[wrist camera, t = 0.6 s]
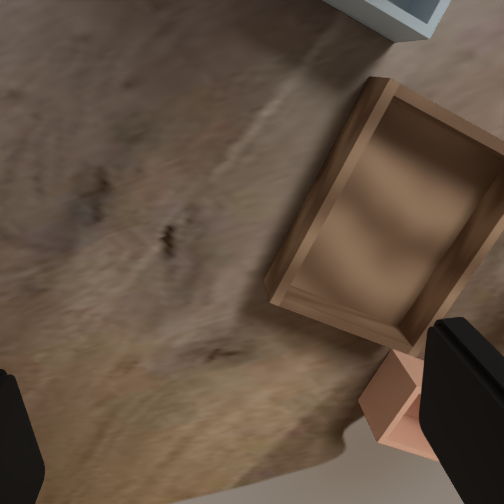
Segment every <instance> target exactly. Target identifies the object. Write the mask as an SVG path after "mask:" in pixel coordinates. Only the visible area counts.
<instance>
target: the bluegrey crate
mask: <svg viewBox="0 0 504 504" xmlns="http://www.w3.org/2000/svg"><path fill="white" fill-rule="evenodd" d="M322 1H323V2H325V3H327V4H329V5H330V6H332V7H334V8H336V9H337V10H339V11H341V12H342V13H344V14H346V15H348V16H349V17H351V18H353V19H355V20H356V21H358V22H360V23H361V24H363V25H365V26H367V27H368V28H370V29H372V30H374V31H375V32H377V33H379V34H380V35H382V36H384V37H386V38H387V39H389V40H391V41H393V42H394V43H397V42H406V41H416V40H426V39H430V38H431V36H432V34H433V32H434V30H435V29H436V27H437V25H438V23H439V21H440V19H441V18H442V16H443V14H444V12H445V10H446V9H447V7H448V5H449V3H450V1H451V0H322Z"/></svg>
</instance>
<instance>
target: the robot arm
mask: <svg viewBox="0 0 504 504" xmlns="http://www.w3.org/2000/svg"><path fill="white" fill-rule="evenodd" d="M419 424H420V427H421V430H422V432H423V434H424V436H425V438H426V439H427V441H428V443H429V444H430V446H431V448H432V450H433V451H434V453H435V455H436V456H437V458H438V460H439V461H440V463H441V465H442V466H443V468H444V470H445V472H446V473H447V475H448V477H449V478H450V480H451V482H452V484H453V485H454V487H455V489H456V490H457V492H458V494H459V496H460V497H461V499H462V501H463V502H464V504H504V357H503V356H502V355H501V354H500V353H499V352H498V351H497V350H496V349H495V348H494V347H493V346H492V345H491V344H490V343H489V342H488V341H487V340H486V339H485V338H484V337H483V336H482V335H481V334H480V333H479V332H478V331H477V330H476V329H475V328H474V327H473V326H472V325H471V324H470V323H469V322H468V321H467V320H466V319H465V318H463V317H455V318H446V319H438V320H436V321H435V323H434V326H431V327H429V328H428V330H427V338H426V348H425V357H424V367H423V377H422V387H421V397H420V407H419ZM44 475H45V466H44V462H43V459H42V456H41V453H40V450H39V447H38V444H37V441H36V438H35V435H34V432H33V429H32V426H31V423H30V420H29V417H28V414H27V411H26V408H25V405H24V402H23V399H22V396H21V393H20V390H19V387H18V384H17V381H16V379H15V377H14V376H13V375H11V374H10V375H7V373H6V371H5V370H3V369H0V504H35V502H36V499H37V497H38V494H39V491H40V489H41V486H42V484H43V480H44Z"/></svg>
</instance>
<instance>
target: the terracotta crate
mask: <svg viewBox="0 0 504 504" xmlns="http://www.w3.org/2000/svg"><path fill="white" fill-rule="evenodd" d="M423 367H424V360H421V359H418V358H415V357H413V356H410V355H407V354H405V353H402V352H399V351H397V350H394V349H391V350H390V352H389V353H388V355H387V357H386V358H385V360H384V361H383V363H382V364H381V366H380V367H379V369H378V370H377V372H376V373H375V375H374V376H373V378H372V379H371V381H370V382H369V384H368V385H367V387H366V388H365V390H364V391H363V393H362V394H361V396H360V397H359V399H358V402H359V404H360V406H361V408H362V411H363V413H364V415H365V417H366V419H367V421H368V424H369V426H370V428H371V430H372V432H373V434H374V436H375V439H376V441H377V443H380V444H384V445H387V446H390V447H393V448H396V449H400V450H403V451H407V452H410V453H413V454H416V455H419V456H422V457H426V458H429V459H432V460H435V461H439V460H438V458H437V456H436V455H435V453H434V451H433V450H432V448H431V446H430V444H429V443H428V441H427V439H426V438H425V436H424V434H423V432H422V430H421V427H420V424H419V407H420V397H421V387H422V377H423ZM439 462H440V461H439Z"/></svg>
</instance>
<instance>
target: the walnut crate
mask: <svg viewBox="0 0 504 504" xmlns="http://www.w3.org/2000/svg"><path fill="white" fill-rule="evenodd" d="M503 230H504V141H503V140H501V139H499V138H497V137H495V136H493V135H492V134H490V133H488V132H486V131H484V130H483V129H481V128H479V127H477V126H475V125H474V124H472V123H470V122H468V121H466V120H465V119H463V118H461V117H459V116H457V115H456V114H454V113H452V112H450V111H448V110H447V109H445V108H443V107H441V106H439V105H438V104H436V103H434V102H432V101H430V100H428V99H427V98H425V97H423V96H421V95H419V94H418V93H416V92H414V91H412V90H410V89H409V88H407V87H405V86H403V85H401V84H400V83H398V82H396V81H394V80H392V79H391V78H381V77H369V78H368V80H367V82H366V84H365V86H364V88H363V90H362V92H361V94H360V96H359V98H358V100H357V101H356V103H355V105H354V107H353V109H352V111H351V113H350V115H349V117H348V119H347V121H346V123H345V124H344V126H343V128H342V130H341V132H340V134H339V136H338V138H337V140H336V142H335V144H334V146H333V147H332V149H331V151H330V153H329V155H328V157H327V159H326V161H325V163H324V165H323V167H322V169H321V170H320V172H319V174H318V176H317V178H316V180H315V182H314V184H313V186H312V188H311V190H310V192H309V193H308V195H307V197H306V199H305V201H304V203H303V205H302V207H301V209H300V211H299V213H298V214H297V216H296V218H295V220H294V222H293V224H292V226H291V228H290V230H289V232H288V234H287V236H286V237H285V239H284V241H283V243H282V245H281V247H280V249H279V251H278V253H277V255H276V257H275V259H274V260H273V262H272V264H271V266H270V268H269V270H268V272H267V274H266V276H265V278H264V280H263V281H264V285H265V288H266V292H267V295H268V299H269V302H270V303H271V304H274V305H277V306H279V307H282V308H285V309H287V310H290V311H293V312H295V313H298V314H301V315H303V316H306V317H309V318H311V319H314V320H317V321H319V322H322V323H325V324H327V325H330V326H333V327H335V328H338V329H341V330H343V331H346V332H349V333H351V334H354V335H357V336H359V337H362V338H365V339H367V340H370V341H373V342H375V343H378V344H381V345H383V346H386V347H389V348H391V349H394V350H397V351H399V352H402V353H405V354H407V355H410V356H413V357H415V358H416V356H417V355H418V354H419V352H420V351H421V349H422V348H423V346H424V345H425V343H426V338H427V330H428V328H429V327H431V326H434V323H435V321H436V320H438V319H443V317H444V316H445V314H446V313H447V311H448V310H449V308H450V307H451V306H452V304H453V303H454V301H455V300H456V298H457V297H458V295H459V294H460V292H461V291H462V290H463V288H464V287H465V285H466V284H467V282H468V281H469V279H470V278H471V276H472V275H473V274H474V272H475V271H476V269H477V268H478V266H479V265H480V263H481V262H482V260H483V259H484V258H485V256H486V255H487V253H488V252H489V250H490V249H491V247H492V246H493V244H494V243H495V242H496V240H497V239H498V237H499V236H500V234H501V233H502V231H503Z"/></svg>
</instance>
